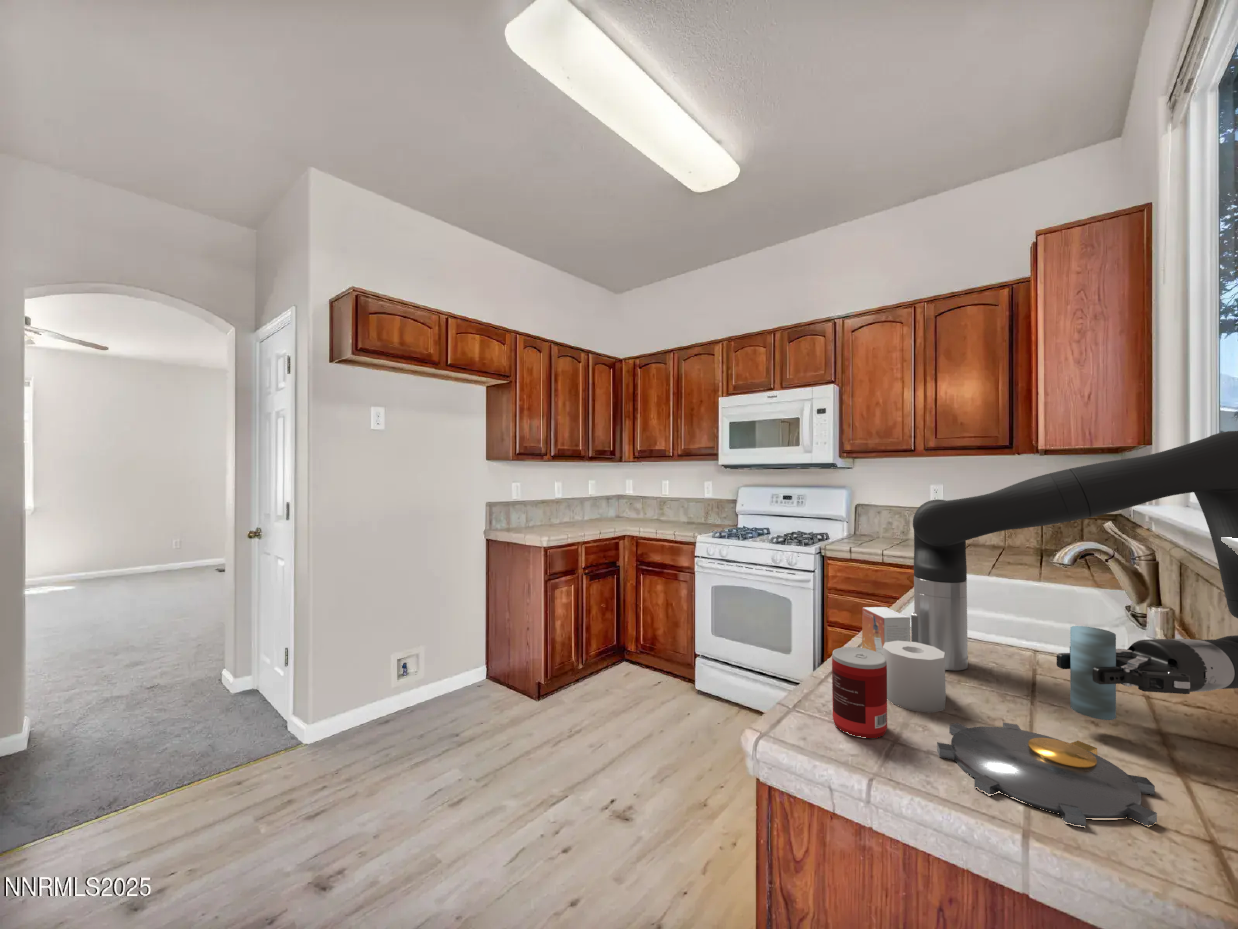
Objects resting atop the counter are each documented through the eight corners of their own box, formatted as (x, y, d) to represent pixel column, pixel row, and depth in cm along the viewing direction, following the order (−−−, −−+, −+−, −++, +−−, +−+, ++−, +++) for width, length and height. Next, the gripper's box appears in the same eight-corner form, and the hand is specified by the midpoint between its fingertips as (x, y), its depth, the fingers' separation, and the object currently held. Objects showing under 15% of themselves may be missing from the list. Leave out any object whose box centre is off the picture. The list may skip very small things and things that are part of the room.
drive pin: (1069, 711, 77) (1068, 631, 77) (1071, 701, 80) (1071, 623, 80) (1115, 723, 73) (1115, 639, 73) (1116, 711, 77) (1116, 631, 77)
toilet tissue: (946, 688, 93) (946, 641, 93) (943, 718, 82) (942, 663, 82) (890, 677, 98) (890, 632, 98) (880, 703, 87) (879, 652, 87)
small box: (861, 656, 109) (861, 606, 109) (886, 655, 110) (886, 606, 110) (884, 671, 101) (883, 617, 101) (911, 670, 102) (910, 616, 102)
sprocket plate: (922, 772, 67) (922, 760, 67) (961, 716, 83) (960, 706, 83) (1159, 858, 52) (1159, 843, 52) (1152, 770, 68) (1152, 758, 68)
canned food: (883, 719, 82) (882, 649, 82) (891, 744, 74) (891, 667, 74) (831, 711, 84) (830, 644, 84) (834, 735, 77) (833, 661, 77)
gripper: (1128, 625, 85) (1033, 628, 84) (1240, 657, 71) (1128, 661, 70) (1128, 671, 85) (1033, 674, 84) (1240, 712, 71) (1128, 717, 69)
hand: (1076, 668), depth 77 cm, fingers closed on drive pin, 5 cm apart
